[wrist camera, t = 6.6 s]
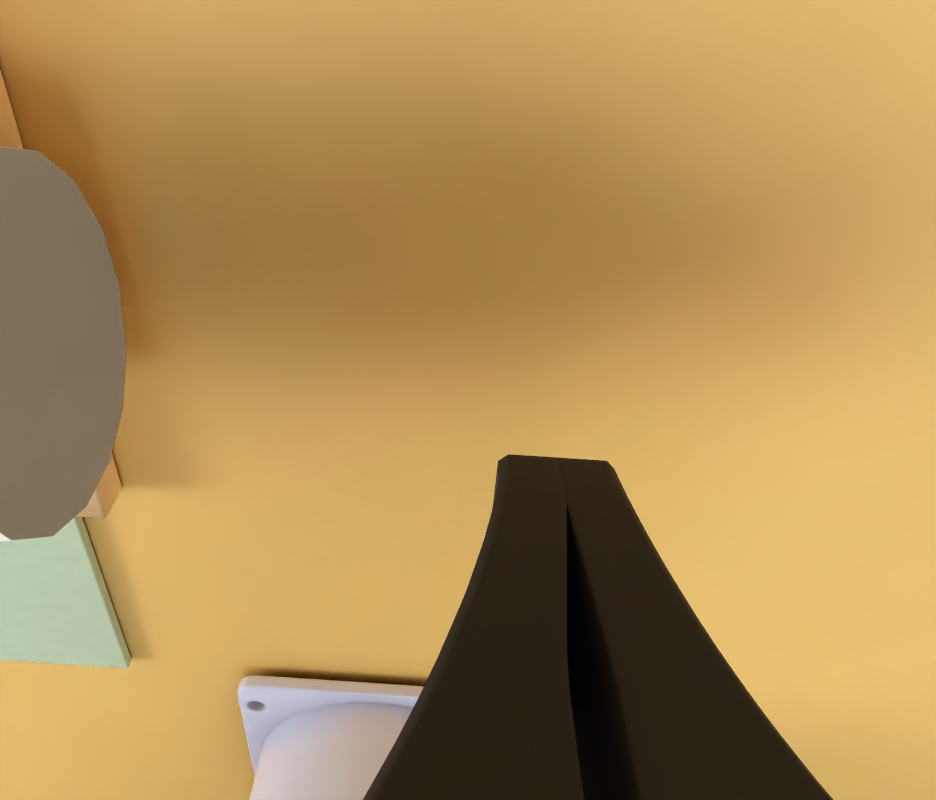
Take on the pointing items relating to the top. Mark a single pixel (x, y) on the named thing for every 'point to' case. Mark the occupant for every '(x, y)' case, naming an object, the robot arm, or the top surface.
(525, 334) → the top surface
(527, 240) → the top surface
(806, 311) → the top surface
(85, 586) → the mat
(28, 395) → the beige short cylinder
